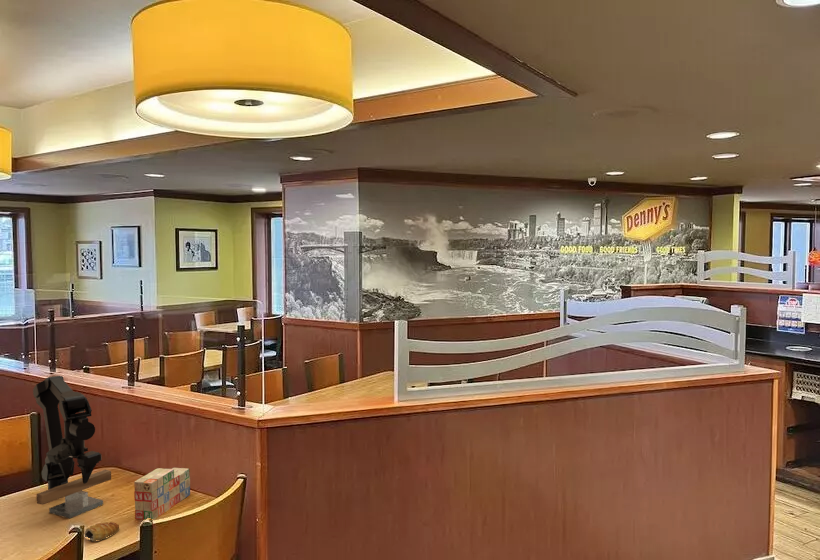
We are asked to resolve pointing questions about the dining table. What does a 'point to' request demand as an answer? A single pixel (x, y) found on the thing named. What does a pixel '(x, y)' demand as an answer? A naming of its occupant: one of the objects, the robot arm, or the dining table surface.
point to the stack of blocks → (160, 491)
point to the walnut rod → (72, 487)
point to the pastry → (101, 530)
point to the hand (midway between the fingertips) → (75, 480)
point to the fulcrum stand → (75, 505)
